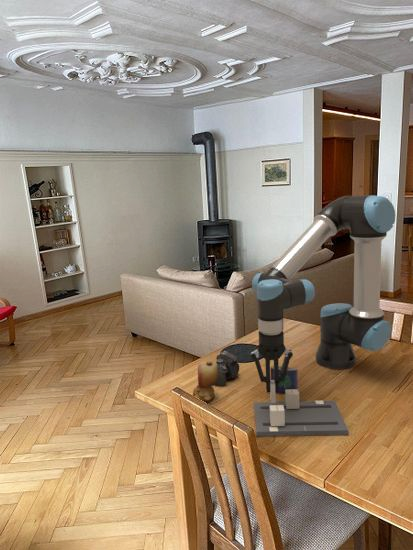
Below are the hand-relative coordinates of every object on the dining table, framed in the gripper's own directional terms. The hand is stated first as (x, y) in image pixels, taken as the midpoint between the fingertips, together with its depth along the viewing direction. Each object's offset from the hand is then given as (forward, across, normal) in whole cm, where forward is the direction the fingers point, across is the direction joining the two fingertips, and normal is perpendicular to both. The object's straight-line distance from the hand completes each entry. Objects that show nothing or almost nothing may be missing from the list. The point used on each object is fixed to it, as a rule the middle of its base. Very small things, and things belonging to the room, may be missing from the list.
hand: (272, 400), depth 130 cm
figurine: (+4, +22, -9) cm, 24 cm away
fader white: (+2, 0, +9) cm, 9 cm away
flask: (+4, -5, -12) cm, 14 cm away
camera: (+4, +16, -23) cm, 28 cm away
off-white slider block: (+2, -6, 0) cm, 6 cm away
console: (+4, -7, +5) cm, 9 cm away
